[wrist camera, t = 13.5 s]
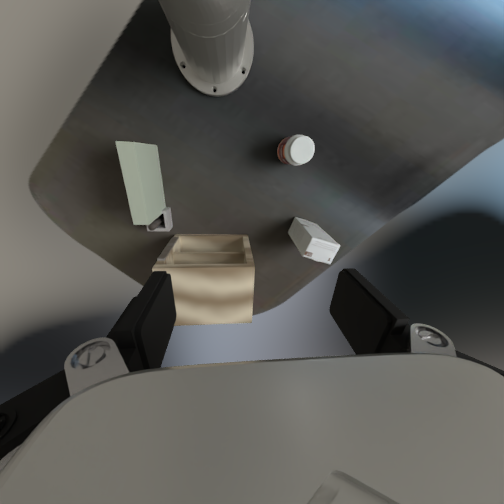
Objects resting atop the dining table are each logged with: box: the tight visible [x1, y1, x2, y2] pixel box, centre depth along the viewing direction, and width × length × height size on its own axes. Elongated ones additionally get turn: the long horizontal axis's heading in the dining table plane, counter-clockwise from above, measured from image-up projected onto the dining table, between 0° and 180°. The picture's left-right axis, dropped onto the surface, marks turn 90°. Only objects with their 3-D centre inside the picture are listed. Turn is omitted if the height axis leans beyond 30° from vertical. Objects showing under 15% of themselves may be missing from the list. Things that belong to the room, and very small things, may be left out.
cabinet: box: [148, 216, 255, 326], centre depth 40 cm, size 16×19×15 cm
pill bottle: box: [277, 135, 315, 166], centre depth 36 cm, size 5×5×8 cm
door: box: [115, 141, 173, 231], centre depth 36 cm, size 16×4×10 cm, turn 177°
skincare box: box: [288, 217, 340, 264], centre depth 42 cm, size 6×4×12 cm
